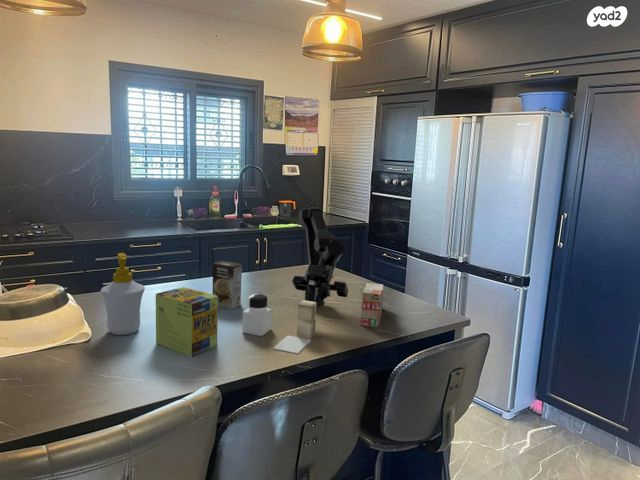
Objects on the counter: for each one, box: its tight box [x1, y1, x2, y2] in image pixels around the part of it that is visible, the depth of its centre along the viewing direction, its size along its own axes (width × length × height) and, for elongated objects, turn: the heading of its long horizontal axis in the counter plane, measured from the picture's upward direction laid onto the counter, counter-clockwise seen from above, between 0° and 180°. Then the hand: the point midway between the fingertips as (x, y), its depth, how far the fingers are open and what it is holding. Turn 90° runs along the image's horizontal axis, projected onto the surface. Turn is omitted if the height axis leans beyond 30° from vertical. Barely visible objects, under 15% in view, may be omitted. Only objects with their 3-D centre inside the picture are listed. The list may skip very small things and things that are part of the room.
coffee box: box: [212, 260, 243, 310], centre depth 176 cm, size 9×6×16 cm
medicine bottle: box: [242, 293, 273, 337], centre depth 153 cm, size 7×7×12 cm
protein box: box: [155, 286, 219, 357], centre depth 139 cm, size 10×15×16 cm
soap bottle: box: [100, 252, 146, 336], centre depth 146 cm, size 13×13×25 cm
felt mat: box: [272, 335, 312, 355], centre depth 144 cm, size 11×8×1 cm
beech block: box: [296, 299, 317, 340], centre depth 151 cm, size 4×4×11 cm
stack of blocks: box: [360, 282, 385, 328], centre depth 172 cm, size 21×6×12 cm, turn 169°
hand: (313, 308), depth 155 cm, fingers closed
